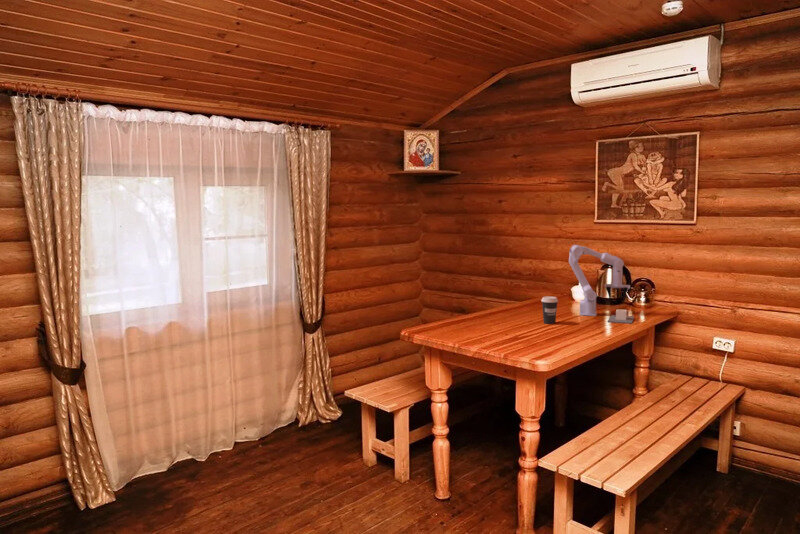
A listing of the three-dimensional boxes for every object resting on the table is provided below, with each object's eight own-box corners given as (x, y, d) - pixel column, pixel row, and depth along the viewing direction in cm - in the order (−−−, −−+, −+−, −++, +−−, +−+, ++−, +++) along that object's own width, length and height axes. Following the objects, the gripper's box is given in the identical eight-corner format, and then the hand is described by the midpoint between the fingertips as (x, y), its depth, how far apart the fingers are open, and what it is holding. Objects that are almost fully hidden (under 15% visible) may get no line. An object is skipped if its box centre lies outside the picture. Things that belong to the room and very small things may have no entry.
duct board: (607, 322, 331) (607, 314, 331) (611, 316, 347) (611, 309, 347) (631, 323, 326) (632, 316, 325) (634, 317, 342) (634, 310, 341)
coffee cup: (539, 324, 330) (539, 298, 328) (543, 320, 339) (543, 295, 337) (555, 325, 326) (556, 299, 324) (559, 322, 334) (559, 296, 332)
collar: (615, 319, 335) (615, 311, 334) (616, 317, 340) (616, 309, 339) (626, 320, 333) (626, 311, 332) (626, 318, 338) (626, 309, 337)
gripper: (603, 277, 347) (603, 300, 349) (629, 279, 341) (629, 301, 343) (605, 276, 354) (604, 298, 355) (630, 277, 347) (630, 299, 349)
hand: (616, 299), depth 349 cm, fingers open, 7 cm apart
